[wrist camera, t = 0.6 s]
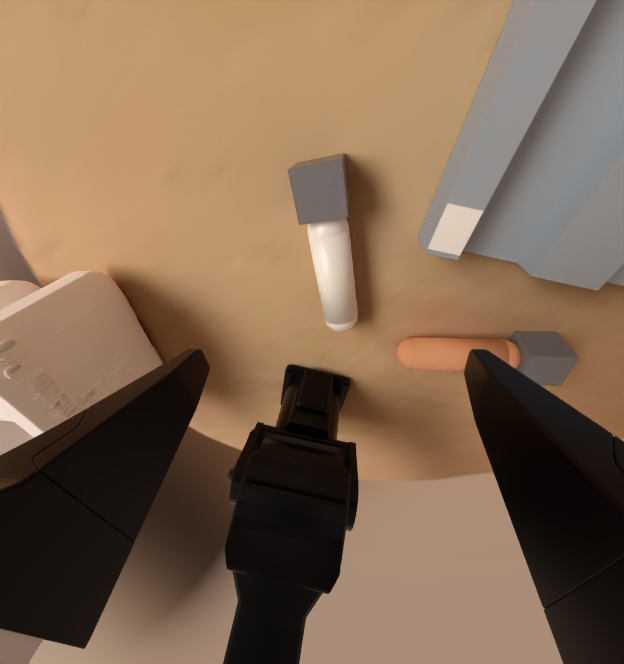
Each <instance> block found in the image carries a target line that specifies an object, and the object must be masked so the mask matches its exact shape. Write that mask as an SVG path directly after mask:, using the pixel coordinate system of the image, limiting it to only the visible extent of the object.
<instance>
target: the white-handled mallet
mask: <svg viewBox="0 0 624 664" xmlns="http://www.w3.org/2000/svg"><path fill="white" fill-rule="evenodd" d="M288 174H289V178H290V183H291V188H292V193H293V198H294V202H295V207H296V212H297V217H298V222H299V225H302V224H308V237H309V242H310V248H311V253H312V258H313V263H314V268H315V273H316V278H317V284H318V289H319V294H320V299H321V304H322V309H323V314H324V319H325V322H326V324H327V325H328V326H329V327H330V328H331V329H333V330H335V331H340V332H342V331H347V330H349V329H351V328H352V327H353V326H354V325H355V323H356V321H357V318H358V309H357V300H356V290H355V281H354V271H353V261H352V252H351V242H350V233H349V225H348V221H347V219H346V218H347V217H348V213H349V206H350V204H349V194H348V183H347V173H346V163H345V153H342V154H337V155H333V156H328V157H323V158H318V159H314V160H309V161H304V162H299V163H297V164H295V165H294V166H292V167H291V168H289V169H288Z"/></svg>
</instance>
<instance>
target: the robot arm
mask: <svg viewBox="0 0 624 664" xmlns="http://www.w3.org/2000/svg"><path fill="white" fill-rule="evenodd" d="M208 373H209V364H208V362H207V360H206V358H205V355H204V353H203V351H202V350H201V349H188V350H186V351H185V352H183V353H181V354H180V355H178V356H176V357H174V358H173V359H171V360H169V361H167V362H166V363H164V364H162V365H161V366H159V367H157V368H155V369H154V370H152V371H150V372H149V373H147V374H145V375H143V376H142V377H140V378H138V379H136V380H135V381H133V382H131V383H130V384H128V385H126V386H124V387H123V388H121V389H119V390H117V391H116V392H114V393H112V394H111V395H109V396H107V397H105V398H104V399H102V400H100V401H98V402H97V403H95V404H93V405H92V406H90V407H89V408H86V409H85V410H83V411H81V412H79V413H78V414H76V415H74V416H72V417H71V418H69V419H67V420H65V421H64V422H62V423H60V424H58V425H57V426H55V427H53V428H51V429H49V430H47V431H45V432H44V433H42V434H40V435H38V436H36V437H34V438H32V439H30V440H28V441H27V442H25V443H23V444H21V445H19V446H17V447H15V448H13V449H11V450H9V451H7V452H6V453H4V454H2V455H0V664H28V663H29V661H30V660H31V658H32V657H33V655H34V653H35V652H36V650H37V649H38V647H39V645H40V644H41V642H42V641H43V639H45V640H49V641H53V642H57V643H62V644H66V645H70V646H74V647H78V648H82V649H84V648H85V647H86V645H87V644H88V642H89V640H90V638H91V636H92V634H93V632H94V629H95V627H96V625H97V623H98V621H99V619H100V616H101V614H102V612H103V610H104V608H105V605H106V603H107V601H108V599H109V597H110V595H111V593H112V590H113V588H114V586H115V584H116V582H117V580H118V577H119V575H120V573H121V571H122V569H123V566H124V564H125V562H126V560H127V558H128V556H129V553H130V551H131V549H132V547H133V545H134V541H135V540H136V538H137V536H138V534H139V532H140V529H141V527H142V525H143V523H144V521H145V518H146V516H147V514H148V512H149V510H150V508H151V506H152V503H153V501H154V499H155V497H156V495H157V493H158V491H159V488H160V486H161V484H162V482H163V480H164V478H165V475H166V473H167V471H168V469H169V467H170V465H171V462H172V460H173V458H174V456H175V454H176V452H177V449H178V447H179V445H180V443H181V441H182V439H183V436H184V434H185V432H186V430H187V428H188V426H189V423H190V421H191V419H192V417H193V415H194V413H195V410H196V408H197V405H198V403H199V400H200V397H201V394H202V391H203V388H204V385H205V382H206V379H207V376H208ZM464 375H465V380H466V385H467V389H468V393H469V398H470V402H471V406H472V411H473V415H474V419H475V422H476V425H477V428H478V431H479V434H480V437H481V439H482V442H483V445H484V448H485V450H486V453H487V456H488V458H489V461H490V464H491V467H492V469H493V472H494V475H495V478H496V480H497V483H498V486H499V488H500V491H501V494H502V497H503V499H504V502H505V505H506V508H507V510H508V513H509V516H510V518H511V521H512V524H513V527H514V529H515V532H516V535H517V538H518V540H519V543H520V546H521V548H522V551H523V554H524V557H525V560H526V562H527V565H528V567H529V570H530V573H531V576H532V579H533V581H534V584H535V587H536V590H537V592H538V595H539V598H540V600H541V603H542V606H543V607H544V608H545V609H544V612H545V615H546V618H547V620H548V623H549V626H550V628H551V631H552V634H553V637H554V639H555V642H556V644H557V648H558V650H559V653H560V655H561V659H562V661H563V664H624V441H622V440H621V439H619V438H618V437H616V436H614V437H613V435H612V433H610V432H609V431H607V430H606V429H604V428H603V427H601V426H600V425H598V424H597V423H595V422H594V421H592V420H591V419H589V418H588V417H586V416H585V415H583V414H582V413H580V412H579V411H577V410H576V409H575V408H573V407H572V406H570V405H569V404H567V403H566V402H564V401H563V400H561V399H560V398H558V397H557V396H555V395H554V394H552V393H551V392H549V391H548V390H546V389H545V388H543V387H542V386H540V385H539V384H537V383H536V382H534V381H533V380H531V379H530V378H529V377H527V376H526V375H524V374H523V373H521V372H520V371H518V370H517V369H515V368H514V367H512V366H511V365H509V364H508V363H506V362H505V361H503V360H502V359H500V358H499V357H497V356H496V355H494V354H493V353H491V352H490V351H488V350H486V349H472V350H470V352H469V354H468V358H467V362H466V365H465V369H464ZM344 382H346V383H344ZM349 387H350V379H349V378H346V377H341V376H337V375H333V374H328V373H324V372H320V371H315V370H311V369H307V368H302V367H298V366H294V365H288V366H287V367H286V370H285V377H284V384H283V391H282V398H281V409H280V413H279V416H278V420H277V423H276V426H275V427H274V426H269V425H264V423H260V422H257V424H256V426H255V429H254V430H252V431H251V432H250V434H249V437H248V439H247V442H246V444H245V446H244V448H243V450H242V453H241V454H240V456H239V457H238V459H237V460H236V462H235V463H234V465H233V466H232V468H231V469H230V472H229V476H228V478H229V480H230V482H231V493H230V503H231V504H235V508H234V512H233V516H232V520H231V524H230V527H229V531H228V536H227V542H226V545H225V556H226V565H227V569H228V570H231V571H233V576H234V581H235V587H236V591H237V597H238V604H237V609H236V613H235V617H234V621H233V625H232V629H231V633H230V637H229V641H228V646H227V650H226V654H225V658H224V662H223V664H299V660H300V654H301V646H302V640H303V634H304V627H305V621H306V617H307V615H308V614H309V612H310V611H311V610H312V608H313V607H314V605H315V604H316V602H317V601H318V599H319V598H320V596H321V595H322V593H326V594H329V593H330V591H331V590H332V588H333V586H334V584H335V583H336V581H337V579H338V577H339V574H340V565H341V561H342V553H343V546H344V539H345V531H346V530H348V531H351V530H352V528H353V525H354V522H355V517H356V512H357V504H358V471H357V457H356V443H353V442H349V443H348V442H343V441H338V440H337V431H338V421H339V413H340V410H341V408H342V405H343V403H344V400H345V397H346V395H347V392H348V390H349Z"/></svg>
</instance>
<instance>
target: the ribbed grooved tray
mask: <svg viewBox="0 0 624 664" xmlns="http://www.w3.org/2000/svg"><path fill="white" fill-rule="evenodd" d="M418 238H419V241H420V243H421V245H422V248H423V250H424V253H426V254H431V255H436V256H440V257H445V258H449V259H454V260H458V259H459V257H460V255H461V253H462V251H464V252H469V253H473V254H478V255H482V256H487V257H492V258H496V259H501V260H505V261H510V262H515V263H518V264H519V265H520V266H521V267H522V268H523V269H524V270H525V271H526V272H527V273H528V274H529V275H530V276H532V277H537V278H541V279H546V280H550V281H555V282H560V283H564V284H569V285H573V286H578V287H582V288H587V289H592V290H596V291H598V290H599V289H600V288H601V287H602V286H603V285H604V284H605V283H606V282H607V283H611V284H616V285H621V286H624V0H514V3H513V5H512V8H511V10H510V13H509V15H508V17H507V20H506V22H505V25H504V27H503V30H502V32H501V35H500V37H499V39H498V42H497V44H496V47H495V49H494V52H493V54H492V56H491V59H490V61H489V64H488V66H487V69H486V71H485V74H484V76H483V78H482V81H481V83H480V86H479V88H478V91H477V93H476V95H475V98H474V100H473V103H472V105H471V108H470V110H469V113H468V115H467V117H466V120H465V122H464V125H463V127H462V130H461V132H460V135H459V137H458V139H457V142H456V144H455V147H454V149H453V152H452V154H451V156H450V159H449V161H448V164H447V166H446V169H445V171H444V174H443V176H442V178H441V181H440V183H439V186H438V188H437V191H436V193H435V195H434V198H433V200H432V203H431V205H430V208H429V210H428V213H427V215H426V217H425V220H424V222H423V225H422V227H421V230H420V232H419V235H418Z"/></svg>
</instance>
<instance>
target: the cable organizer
mask: <svg viewBox="0 0 624 664" xmlns="http://www.w3.org/2000/svg"><path fill="white" fill-rule="evenodd" d="M162 364H163V362H162V360H161V359H160V357H159V355H158V353H157V352H156V350H155V348H154V347H153V346H152V345H151V343H150V341H149V339H148V338H147V336H146V334H145V332H144V331H143V329H142V327H141V325H140V324H139V322H138V320H137V316H136V315H135V313H134V311H133V309H132V307H131V306H130V304H129V302H128V300H127V299H126V297H125V295H124V294H123V292H122V291H121V290H120V288H119V287H118V286H117V284H116V283H115V282H114V281H113V280H112V279H111V278H110V277H109V276H107V275H106V274H104V273H101V272H98V271H75V272H72V273H70V274H68V275H66V276H64V277H62V278H60V279H58V280H56V281H54V282H53V283H51V284H49V285H47V286H45V287H43V288H40V287H38V286H36V285H35V284H32V283H30V282H27V281H0V455H2V454H4V453H6V452H7V451H9V450H11V449H13V448H15V447H17V446H19V445H21V444H23V443H25V442H27V441H28V440H30V439H32V438H34V437H36V436H38V435H40V434H42V433H44V432H45V431H47V430H49V429H51V428H53V427H55V426H57V425H58V424H60V423H62V422H64V421H65V420H67V419H69V418H71V417H72V416H74V415H76V414H78V413H79V412H81V411H83V410H85V409H86V408H89V407H90V406H92V405H93V404H95V403H97V402H98V401H100V400H102V399H104V398H105V397H107V396H109V395H111V394H112V393H114V392H116V391H117V390H119V389H121V388H123V387H124V386H126V385H128V384H130V383H131V382H133V381H135V380H136V379H138V378H140V377H142V376H143V375H145V374H147V373H149V372H150V371H152V370H154V369H155V368H157V367H159V366H161V365H162Z"/></svg>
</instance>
